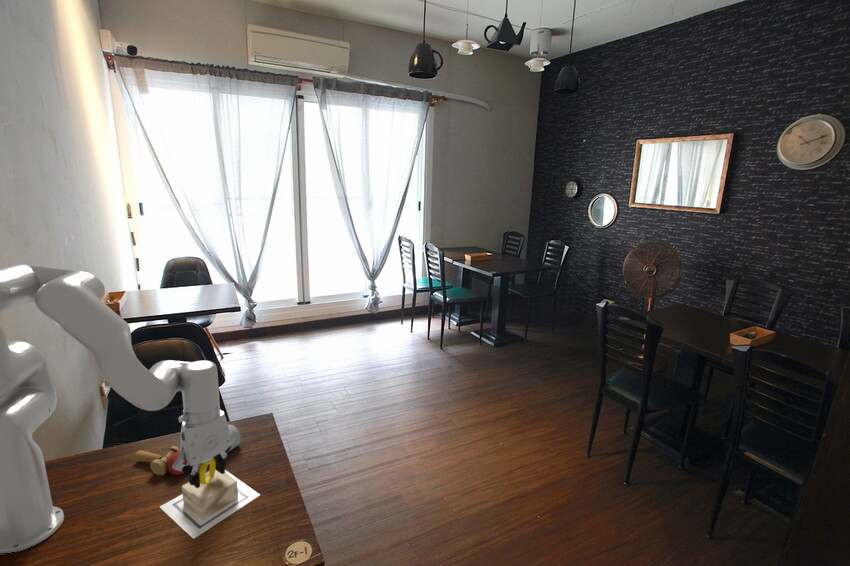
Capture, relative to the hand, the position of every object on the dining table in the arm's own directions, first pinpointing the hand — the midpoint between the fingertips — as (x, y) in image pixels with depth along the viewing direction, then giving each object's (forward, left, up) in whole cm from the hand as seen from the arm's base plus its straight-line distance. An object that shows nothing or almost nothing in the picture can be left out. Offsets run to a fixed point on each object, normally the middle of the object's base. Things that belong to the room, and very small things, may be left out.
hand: (208, 477), depth 102 cm
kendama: (-1, +23, -8) cm, 24 cm away
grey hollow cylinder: (+13, +18, -7) cm, 23 cm away
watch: (0, 0, -1) cm, 1 cm away
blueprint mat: (0, 0, -7) cm, 7 cm away
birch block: (0, 0, -7) cm, 7 cm away
